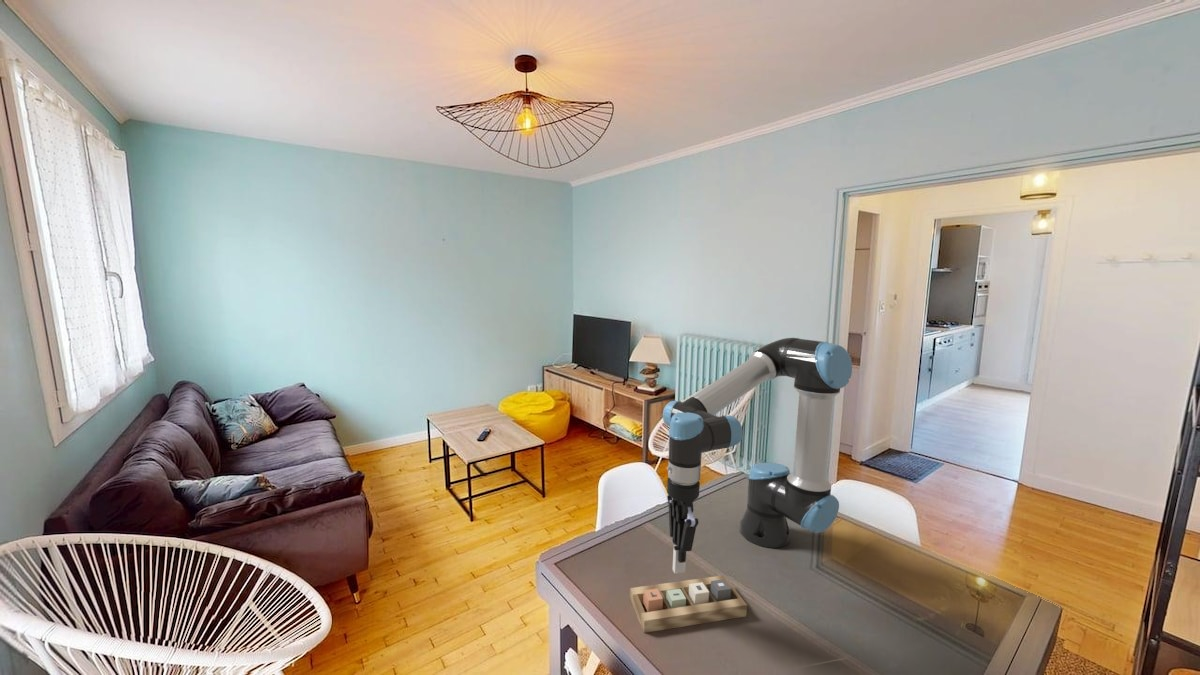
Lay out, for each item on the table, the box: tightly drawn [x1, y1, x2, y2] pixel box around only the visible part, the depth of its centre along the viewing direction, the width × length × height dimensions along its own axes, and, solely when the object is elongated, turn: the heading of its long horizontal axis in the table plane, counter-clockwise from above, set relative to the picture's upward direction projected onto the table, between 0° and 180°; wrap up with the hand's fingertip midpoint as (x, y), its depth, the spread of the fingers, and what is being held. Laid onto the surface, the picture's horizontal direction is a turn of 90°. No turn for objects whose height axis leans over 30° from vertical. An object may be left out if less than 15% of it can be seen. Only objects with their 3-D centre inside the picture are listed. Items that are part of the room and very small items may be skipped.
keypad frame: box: [629, 574, 748, 634], centre depth 109 cm, size 26×11×3 cm, turn 103°
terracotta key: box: [643, 588, 663, 612], centre depth 107 cm, size 4×4×3 cm
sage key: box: [666, 589, 686, 609], centre depth 108 cm, size 4×4×3 cm
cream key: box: [689, 582, 709, 605], centre depth 109 cm, size 4×4×3 cm
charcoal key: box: [710, 579, 731, 602], centre depth 111 cm, size 4×4×3 cm
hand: (678, 570), depth 107 cm, fingers closed
